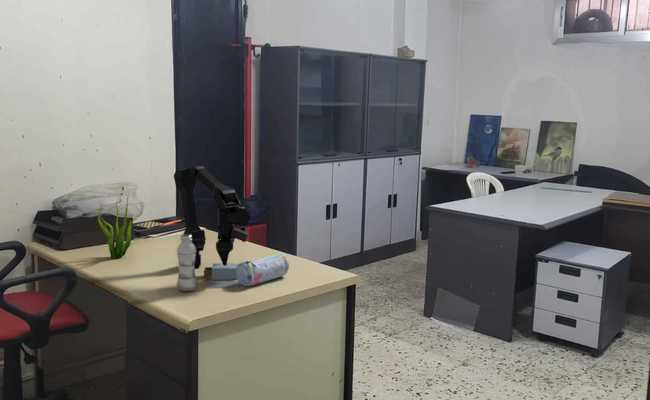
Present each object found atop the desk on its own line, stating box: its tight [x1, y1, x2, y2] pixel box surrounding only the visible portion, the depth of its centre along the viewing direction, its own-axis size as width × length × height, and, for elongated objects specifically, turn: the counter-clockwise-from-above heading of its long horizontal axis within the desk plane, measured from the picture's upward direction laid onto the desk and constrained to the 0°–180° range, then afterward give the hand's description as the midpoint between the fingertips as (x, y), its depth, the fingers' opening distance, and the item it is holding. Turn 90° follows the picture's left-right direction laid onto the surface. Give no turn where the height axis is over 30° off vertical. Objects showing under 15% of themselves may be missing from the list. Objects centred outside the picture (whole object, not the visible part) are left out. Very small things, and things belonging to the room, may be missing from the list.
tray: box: [203, 266, 212, 280], centre depth 231 cm, size 16×5×3 cm, turn 96°
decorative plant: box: [97, 190, 143, 259], centre depth 255 cm, size 18×30×15 cm
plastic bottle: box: [176, 233, 197, 292], centre depth 212 cm, size 6×7×20 cm
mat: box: [206, 280, 242, 289], centre depth 221 cm, size 12×8×1 cm, turn 96°
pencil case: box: [236, 252, 290, 287], centre depth 226 cm, size 21×9×10 cm, turn 139°
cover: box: [211, 262, 240, 281], centre depth 231 cm, size 10×7×4 cm
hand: (225, 262), depth 230 cm, fingers open, 9 cm apart
